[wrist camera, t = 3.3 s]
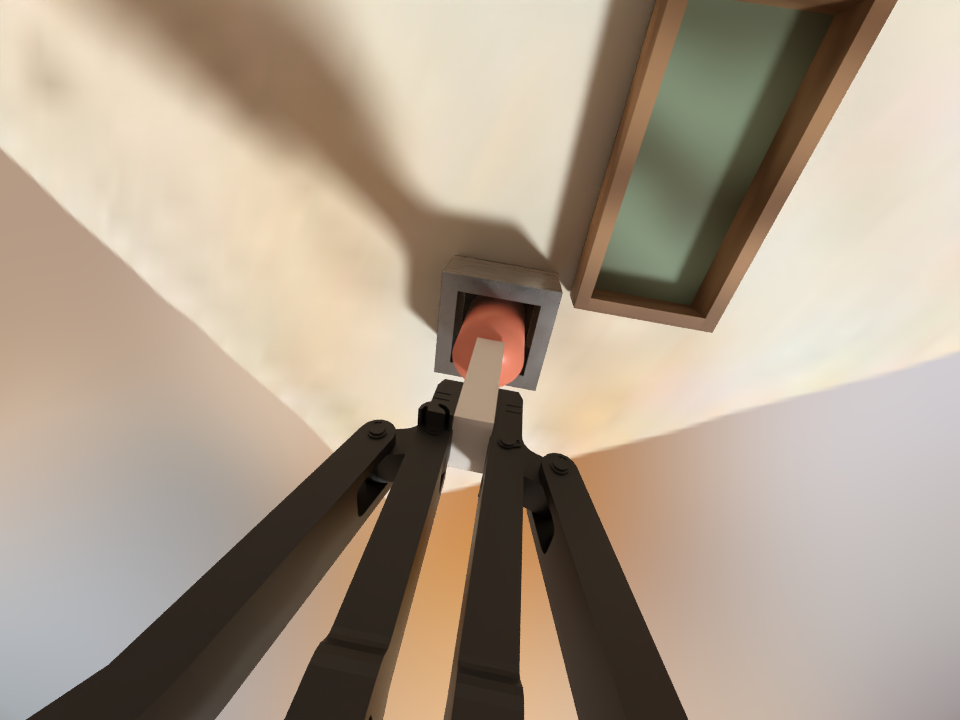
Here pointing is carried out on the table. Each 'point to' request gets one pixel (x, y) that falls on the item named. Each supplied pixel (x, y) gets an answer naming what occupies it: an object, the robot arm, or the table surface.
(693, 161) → the wooden tray
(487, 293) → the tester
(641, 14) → the table surface
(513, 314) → the coral capsule
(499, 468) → the robot arm
